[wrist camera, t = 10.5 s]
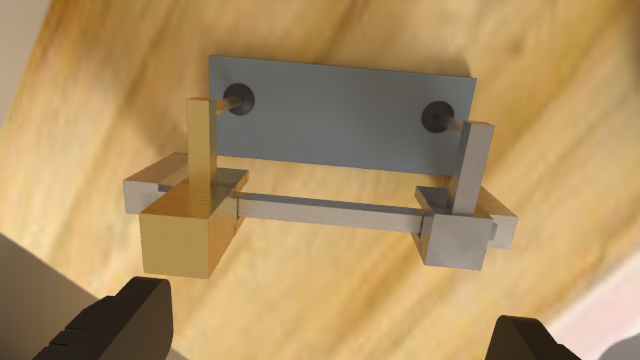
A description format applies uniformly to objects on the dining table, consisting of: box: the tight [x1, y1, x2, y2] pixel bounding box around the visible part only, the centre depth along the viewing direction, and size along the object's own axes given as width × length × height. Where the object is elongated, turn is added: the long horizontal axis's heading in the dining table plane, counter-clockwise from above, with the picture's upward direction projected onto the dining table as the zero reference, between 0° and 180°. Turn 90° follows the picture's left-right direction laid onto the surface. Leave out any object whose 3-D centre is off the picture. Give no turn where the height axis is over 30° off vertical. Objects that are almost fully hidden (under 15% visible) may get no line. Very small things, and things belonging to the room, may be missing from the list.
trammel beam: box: [123, 113, 518, 271], centre depth 32 cm, size 11×33×12 cm, turn 85°
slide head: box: [139, 95, 249, 279], centre depth 29 cm, size 11×4×15 cm, turn 175°
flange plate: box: [209, 55, 477, 177], centre depth 36 cm, size 10×26×1 cm, turn 85°
